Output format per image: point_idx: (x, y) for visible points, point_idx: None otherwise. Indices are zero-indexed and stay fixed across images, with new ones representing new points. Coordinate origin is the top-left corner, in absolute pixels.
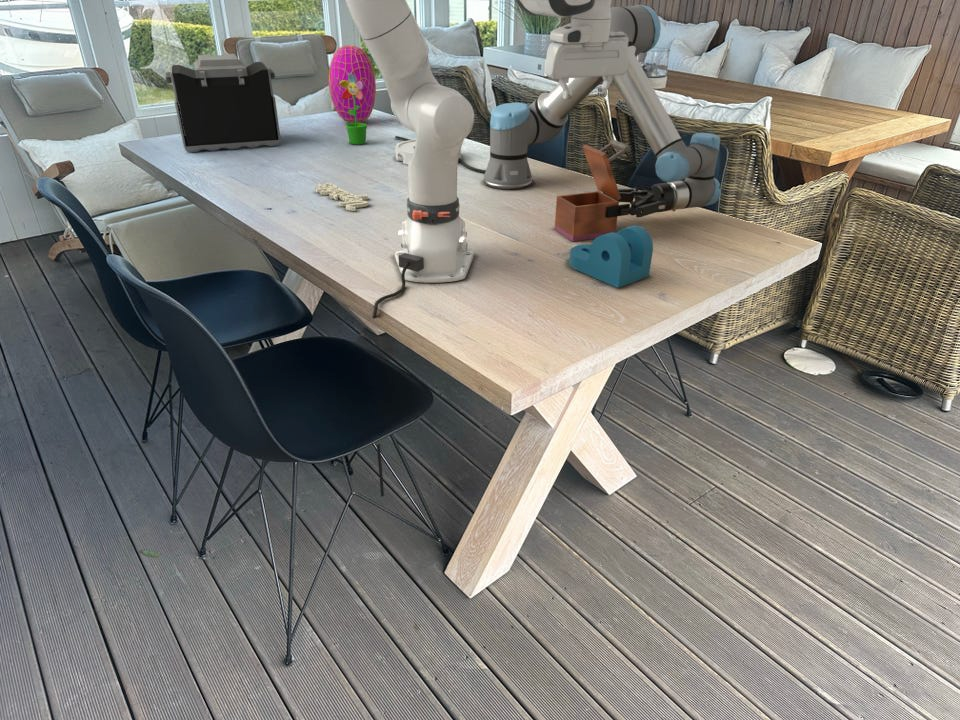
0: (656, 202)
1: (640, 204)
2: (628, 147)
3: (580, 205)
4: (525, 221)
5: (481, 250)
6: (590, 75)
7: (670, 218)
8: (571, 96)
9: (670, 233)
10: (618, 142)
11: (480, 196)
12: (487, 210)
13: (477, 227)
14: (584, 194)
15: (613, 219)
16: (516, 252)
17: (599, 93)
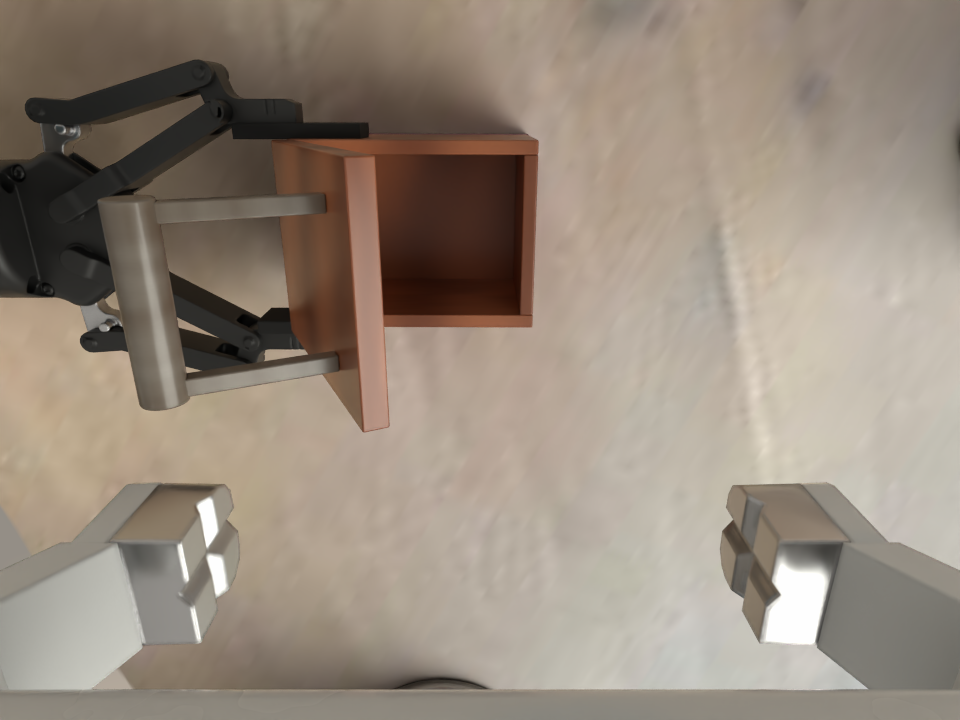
0: (78, 112)
1: (168, 129)
2: (115, 199)
3: (412, 299)
4: (580, 397)
5: (897, 181)
6: (474, 705)
7: None
8: (747, 492)
9: (82, 63)
10: (145, 324)
11: (595, 659)
12: (646, 537)
13: (772, 401)
14: (390, 312)
15: None
16: (793, 109)
17: (218, 548)
